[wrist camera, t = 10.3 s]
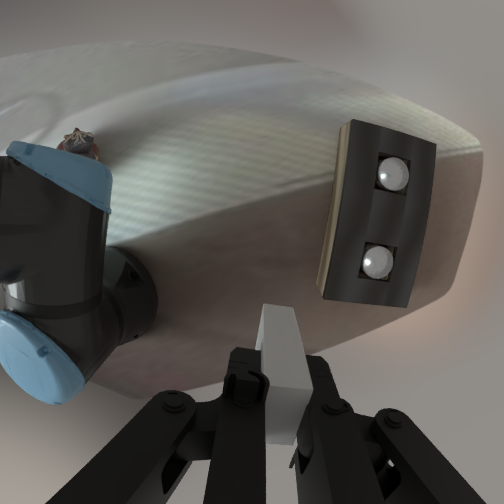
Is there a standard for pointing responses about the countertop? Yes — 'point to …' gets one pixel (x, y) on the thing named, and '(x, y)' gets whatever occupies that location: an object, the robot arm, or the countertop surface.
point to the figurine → (80, 144)
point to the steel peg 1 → (391, 174)
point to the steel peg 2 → (376, 260)
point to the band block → (375, 215)
